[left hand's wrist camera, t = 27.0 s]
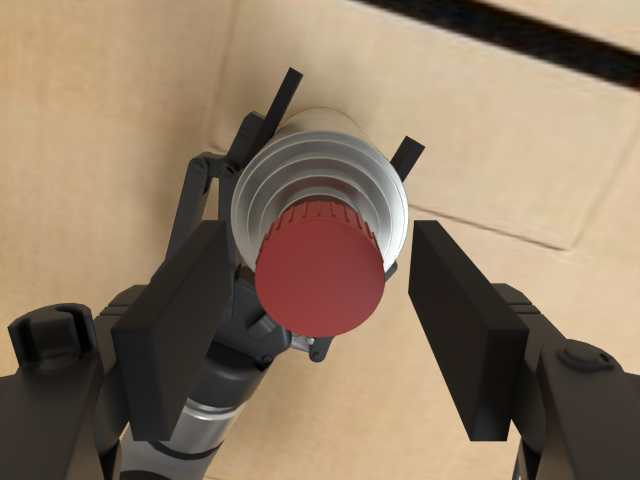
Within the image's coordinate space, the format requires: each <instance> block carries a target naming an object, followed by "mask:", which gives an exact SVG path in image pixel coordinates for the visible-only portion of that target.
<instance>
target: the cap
mask: <svg viewBox="0 0 640 480" xmlns="http://www.w3.org/2000/svg"><path fill="white" fill-rule="evenodd" d="M383 263H384V260H383V257H382V254H381V251H380V248H379V245H378V242H377V239H376V237H375V234H374V232H371V230H370V228H369V225H368V222H367V221H366V222H365V221H364V220H363V219H362V218H361V217H360V216H359V214H358V213H357V212H356V213H355V212H353V211H352V210H350V209H348V208H347V206H342V205H339V204H335V203H334V202H333V201H332V202H320V200H318V202H309V203H307V202H304V204H301V205H298V206H296V207H294V206H292V207H291V209H290V210H288V211H286V212H285V213H284V214H282V213H281V214H280V216H279V218H278V219H277V220H276V221H275V222H274V223H273V222H272V223H271V226H270V228H269V231H268V233H265V235H264V238H263V241H262V244H261V246H260V249H259V253H258V256H257V259H256V262H255V264H256V268H255V275H254V279H255V288H256V293H257V296H258V299H259V301H260V303H261V305H262V307H263V308H264V310H265V311H266V313H267V314H268V315H269V316H270V317H271V318H272V319H273V320H274V321H275V322H276V323H278V324H279V325H281V326H282V327H284V328H285V329H287V330H289V331H291V332H294V333H297V334H299V335H304V336H309V337H331V336H336V335H340V334H343V333H346V332H348V331H350V330H352V329H354V328H356V327H357V326H359V325H361V324H362V323H363V322H364V321H366V320H367V319H368V318H369V317H370V315H371V314H372V313H373V312H374V310H375V309H376V308H377V306H378V304H379V302H380V300H381V297H382V295H383V291H384V287H385V270H384V266H383Z"/></svg>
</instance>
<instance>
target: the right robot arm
mask: <svg viewBox="0 0 640 480" xmlns="http://www.w3.org/2000/svg"><path fill="white" fill-rule="evenodd" d="M302 77H303V74H301V73H299V72H298V71H296V70H294V69H293V68H291V67H290V68H289V70H288V72H287V74H286V76H285V78H284V81H283V83H282V85H281V87H280V89H279V91H278V93H277V95H276V97H275V99H274V101H273V103H272V105H271V107H270V109H269V111H268V113H267V115H266V117H264V116H263V115H261V114H259V113H257V112H255V111H253V112H251V113H250V114H248V115H247V116H246V117H245V118H244V120H243V122H242V124H241V126H240V128H239V131H238V133H237V135H236V137H235V139H234V141H233V143H232V145H231V148H230V150H229V152H228V154H227V155H217V154H213V153H211V152H203V153H202V154H200V155H198V156H196V157H195V158H193V159H192V160H191V161H190V162H189V165H188V169H187V173H186V177H185V181H184V185H183V189H182V193H181V197H180V201H179V205H178V209H177V213H176V217H175V221H174V225H173V229H172V233H171V237H170V242H169V246H168V250H167V254H166V258H165V261H164V262H163V263H162V265H161V266H160V267H159V268H158V270H157V271H156V272H155V274H154V275H153V276H152V278H151V281H152V280H153V278H154V277H155V276H156V275H157V274H158V273H159V271H160V270H161V269H162V268H163V267H164V266H165V264H166V263H167V262H168V261H169V260H170V259H171V257H172V256H173V255H174V254H175V253H176V252H177V250H178V249H179V248H180V247H181V246H182V245H183V243H184V242H185V241H186V240H187V239H188V237H189V236H190V235H191V234H192V233H193V232H194V230H195V229H196V228H197V227H198V226H199V225H200V223H201V219H202V216H203V212H204V208H205V205H206V201H207V197H208V194H209V190H210V186H211V183H212V179H213V177H215V178H219V208H218V220H226V229H227V241H228V253H229V264H230V276H231V288H232V294H231V296H230V299H229V301H228V303H227V306H226V308H225V311H224V313H223V315H222V318H221V320H220V323H219V325H218V327H217V330H216V332H215V334H214V337H213V339H212V342H211V344H210V346H209V349H208V351H207V353H206V356H205V358H204V361H203V363H202V365H201V368H200V370H199V372H198V375H197V377H196V380H195V382H194V384H193V387H192V389H191V392H190V394H189V396H188V399H187V401H186V403H185V406H184V408H183V411H182V413H181V415H180V418H179V420H178V422H177V425H176V427H175V430H174V432H173V434H172V437H171V439H170V441H133V437H132V432H131V427H130V425H129V427H128V428H127V430H126V432H125V434H124V436H123V438H122V440H121V442H120V444H121V450H122V462H121V470H120V477H119V480H203V477H204V475H205V472H206V470H207V468H208V466H209V465H210V463H211V461H212V459H213V458H214V456H215V454H216V452H217V451H218V449H219V447H220V446H221V444H222V443H223V441H224V439H225V438H226V436H227V435H228V433H229V432H230V430H231V428H232V427H233V425H234V424H235V422H236V421H237V419H238V417H239V416H240V414H241V413H242V411H243V410H244V408H245V406H246V405H247V402H248V400H249V398H250V397H251V396H252V395H253V393H254V391H255V390H256V388H257V387H258V385H259V383H260V382H261V380H262V378H263V377H264V375H265V374H266V372H267V370H268V369H269V367H270V365H271V364H272V362H273V360H274V359H275V358H276V357H277V356H278V355H279V354H280V353H282V352H284V351H286V350H287V349H288V348H289V347H291V348H294V349H298V350H302V351H305V352H309V357H310V359H311V360H312V361H313V362H321V361H323V360H324V358H325V356H326V354H327V351H328V349H329V346H330V344H331V341H332V339H333V338H334V337H335V336H331V337H309V336H304V335H299V334H297V333H294V332H291V331H289V330H287V329H285V328H284V327H282V326H281V325H279V324H278V323H276V322H275V321H274V320H273V319H272V318H271V317H270V316H269V315H268V314H267V313H266V311H265V310H264V308H263V307H262V305H261V303H260V301H259V299H258V296H257V293H256V288H255V279H254V275H255V273H254V272H253V271H252V269H251V268H249V267H247V266H245V265H244V266H243V268H242V255H241V254H240V252H239V249H238V247H237V245H236V242H235V239H234V236H233V232H232V225H231V205H232V198H233V194H234V191H235V188H236V185H237V183H238V180H239V178H240V176H241V175H242V173H243V171H244V170H245V168H246V167H247V165H248V164H249V163H250V162H251V160H252V159H253V158H254V157H255V156H256V155H257V154H258V152H259V151H260V150H261V149H262V148H263V147H264V146H265V145H266V143H267V142H268V141H269V140H270V139H271V138H272V137H273V135H274V133H275V131H276V129H277V127H278V125H279V123H280V121H281V119H282V117H283V115H284V113H285V111H286V109H287V107H288V105H289V103H290V101H291V99H292V97H293V95H294V93H295V91H296V89H297V87H298V85H299V83H300V81H301V79H302ZM424 148H425V146H423V145H421V144H420V143H418V142H416V141H415V140H413V139H411V138H410V137H408V136H406V137H405V138H404V140H403V142H402V143H401V145H400V147H399V148H398V150H397V152H396V153H395V155H394V156H393V158H392V160H391V161H390V163H391V165H392V166H393V167H394V169H395V170H396V172H397V173H398V175H399V177H400V179H401V181H402V183H403V182H404V180H405V178H406V177H407V175H408V174H409V172H410V171H411V169H412V167H413V166H414V164H415V163H416V161H417V159H418V158H419V156H420V155H421V153H422V152H423V150H424ZM396 270H397V262H396V260H395V261H394V263H393V264H392V265H391V267H390V268H389V269H388V270H387V271H386V272H385V282H386V281H387V280H388V279H389V278H390V277H391V276H392V275H393V274H394V273H395V271H396Z"/></svg>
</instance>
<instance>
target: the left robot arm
mask: <svg viewBox="0 0 640 480" xmlns="http://www.w3.org/2000/svg"><path fill="white" fill-rule="evenodd" d="M231 294H232V288H231V276H230V264H229V253H228V241H227V229H226V220H203V221H202V222H201V223H200V225H199V226H198V227H197V228H196V229H195V230H194V232H193V233H192V234H191V235H190V236H189V237H188V239H187V240H186V241H185V242H184V243H183V245H182V246H181V247H180V248H179V249H178V250H177V252H176V253H175V254H174V255H173V256H172V257H171V259H170V260H169V261H168V262H167V263H166V264H165V266H164V267H163V268H162V269H161V270H160V271H159V273H158V274H157V275H156V276H155V277H154V278H153V280H152V281H151V282H150V283H149V284H148V285H134V286H132V287H130V288H128V289H126V290H125V291H123V292H121V293H119V294H118V295H117V296H116V297H115V298H114V299H113V300H112V301H111V302H110V303H109V304H108V307H105V308H104V310H103V311H102V312H101V313H100V316H97V317H96V318H95V319H94V320H93V319H92V314H91V310H90V308H88V307H87V306H85V305H83V304H77V303H63V304H55V305H51V306H46V307H42V308H39V309H37V310H34V311H31V312H28V313H26V314H25V315H23V316H21V317H19V318H17V319H16V320H15V321H13V322H12V323H11V324H10V325H9V326H8V327H7V328H8V331H9V334H10V338H11V341H12V344H13V347H14V351H15V354H16V357H17V360H18V364H19V368H18V370H17V371H16V373H15V374H14V375H9V376H4V377H0V480H119V477H120V470H121V462H122V450H121V444H120V440H119V437H120V435H121V433H122V432H123V430H124V428H125V426H126V425H127V423H128V421H129V423H130V427H131V432H132V437H133V441H170V439H171V437H172V434H173V432H174V430H175V427H176V425H177V422H178V420H179V418H180V415H181V413H182V411H183V408H184V406H185V403H186V401H187V399H188V396H189V394H190V392H191V389H192V387H193V384H194V382H195V380H196V377H197V375H198V372H199V370H200V368H201V365H202V363H203V361H204V358H205V356H206V353H207V351H208V349H209V346H210V344H211V342H212V339H213V337H214V334H215V332H216V330H217V327H218V325H219V323H220V320H221V318H222V315H223V313H224V311H225V308H226V306H227V303H228V301H229V299H230V296H231ZM408 294H409V296H410V299H411V301H412V303H413V306H414V308H415V311H416V313H417V315H418V318H419V320H420V323H421V325H422V327H423V330H424V332H425V334H426V337H427V339H428V342H429V344H430V346H431V349H432V351H433V353H434V356H435V358H436V361H437V363H438V365H439V368H440V370H441V372H442V375H443V377H444V380H445V382H446V384H447V387H448V389H449V392H450V394H451V396H452V399H453V401H454V403H455V406H456V408H457V411H458V413H459V415H460V418H461V420H462V422H463V425H464V427H465V430H466V432H467V434H468V437H469V439H470V441H507V437H508V432H509V427H510V423H511V419H512V421H513V422H514V424H515V426H516V428H517V429H518V431H519V433H520V435H521V440H520V444H519V449H518V453H517V458H516V462H515V467H514V471H513V476H512V480H519V476H521V480H640V375H636V374H630V373H626V372H624V371H623V369H622V367H621V365H620V364H619V363H618V362H617V361H616V360H615V358H614V357H612V356H611V355H609V354H608V353H606V352H605V351H603V350H602V349H600V348H597V347H595V346H593V345H590V344H588V343H585V342H581V341H577V340H573V339H566V338H565V337H564V336H563V335H562V334H561V333H560V332H559V330H558V329H557V328H556V327H555V326H554V325H553V324H552V323H551V322H550V321H549V320H548V319H547V318H546V317H545V316H544V315H543V314H541V312H540V311H539V310H538V309H537V308H536V307H535V306H534V305H532V303H531V301H530V300H529V299H528V298H527V297H526V296H525V295H524V294H523V293H522V292H520V291H518V290H516V289H515V288H513V287H511V286H509V285H507V284H505V283H490V282H489V281H488V280H487V279H486V277H485V276H484V275H483V274H482V273H481V271H480V270H479V269H478V268H477V267H476V266H475V264H474V263H473V262H472V261H471V260H470V259H469V257H468V256H467V255H466V254H465V253H464V252H463V250H462V249H461V248H460V247H459V246H458V245H457V243H456V242H455V241H454V240H453V239H452V237H451V236H450V235H449V234H448V233H447V232H446V230H445V229H444V228H443V227H442V226H441V225H440V223H439V222H438V221H437V220H414V229H413V241H412V253H411V264H410V276H409V288H408Z"/></svg>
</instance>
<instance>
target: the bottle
mask: <svg viewBox="0 0 640 480" xmlns="http://www.w3.org/2000/svg"><path fill="white" fill-rule="evenodd" d="M318 200H320V202H332V201H333V202H334V203H335V204H339V205H342V206H347V208H348V209H350V210H352V211H353V212H355V213H356V212H357V213H358V214H359V216H360V217H361V218H362V219H363V220H364V221H365V222H366V221H367V222H368V225H369V228H370V230H371V232H374V234H375V237H376V239H377V242H378V245H379V248H380V251H381V254H382V257H383V260H384V263H383V266H384V270H385V272H386V271H387V270H388V269H389V268H390V267H391V265H392V264H393V263H394V261H395V260H396V258H397V256H398V255H399V253H400V251H401V249H402V246H403V244H404V242H405V238H406V234H407V230H408V223H409V207H408V200H407V195H406V192H405V188H404V186H403V183H402V181H401V179H400V177H399V175H398V173H397V172H396V170H395V169H394V167H393V166H392V165H391V163H390V162H389V161H388V160H387V159H386V157H385V156H384V155H383V154H382V153H381V152H380V151H379V149H378V148H377V147H376V146H375V145H374V144H373V143H372V142H371V140H370V139H369V138H368V137H367V136H366V135H365V134H364V133H363V131H362V130H361V129H360V128H359V127H358V126H357V125H356V124H355V122H354V121H352V120H351V119H350V118H349V117H348V116H346V115H345V114H343V113H341V112H339V111H336V110H333V109H329V108H311V109H307V110H304V111H301V112H299V113H297V114H295V115H294V116H292V117H291V118H290V119H288V120H287V121H286V122H285V123H284V124H283V125H282V127H281V128H280V129H279V130H278V131H277V132H276V133H275V134H274V136H273V137H272V138H271V139H270V140H269V141H268V142H267V143H266V145H265V146H264V147H263V148H262V149H261V150H260V151H259V152H258V154H257V155H256V156H255V157H254V158H253V159H252V160H251V162H250V163H249V164H248V165H247V167H246V168H245V170H244V171H243V173H242V175H241V176H240V178H239V180H238V183H237V185H236V188H235V191H234V194H233V198H232V205H231V225H232V232H233V236H234V239H235V242H236V245H237V247H238V249H239V252H240V254H241V255H242V257H243V259H244V260H245V262H246V263H247V265H248V266H249V267H250V268H251V269H252V271H253V272H254V273H255V268H256V264H255V262H256V259H257V256H258V253H259V249H260V246H261V244H262V241H263V238H264V235H265V233H268V231H269V228H270V226H271V223H272V222H273V223H274V222H275V221H276V220H277V219H278V218H279V216H280V214H281V213H282V214H284V213H285V212H286V211H288V210H290V209H291V207H292V206H294V207H296V206H298V205H301V204H304V202H307V203H309V202H318Z"/></svg>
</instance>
